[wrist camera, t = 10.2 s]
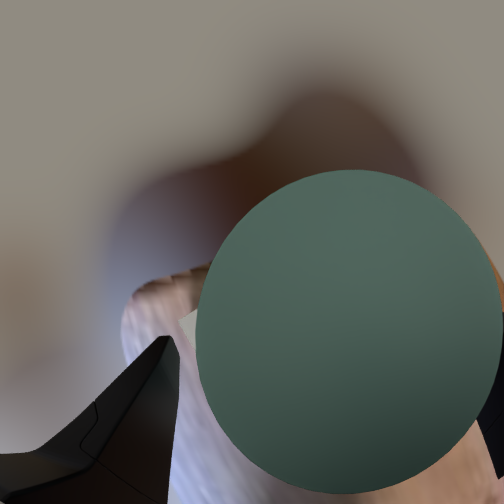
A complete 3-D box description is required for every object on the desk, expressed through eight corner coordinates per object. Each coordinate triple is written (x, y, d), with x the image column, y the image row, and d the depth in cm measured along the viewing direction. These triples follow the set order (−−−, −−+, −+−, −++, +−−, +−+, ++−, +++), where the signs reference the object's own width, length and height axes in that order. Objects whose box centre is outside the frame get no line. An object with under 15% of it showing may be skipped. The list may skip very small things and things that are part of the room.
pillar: (302, 402, 14) (393, 528, 2) (237, 355, 15) (126, 358, 3) (349, 338, 15) (526, 279, 3) (286, 293, 16) (325, 125, 4)
